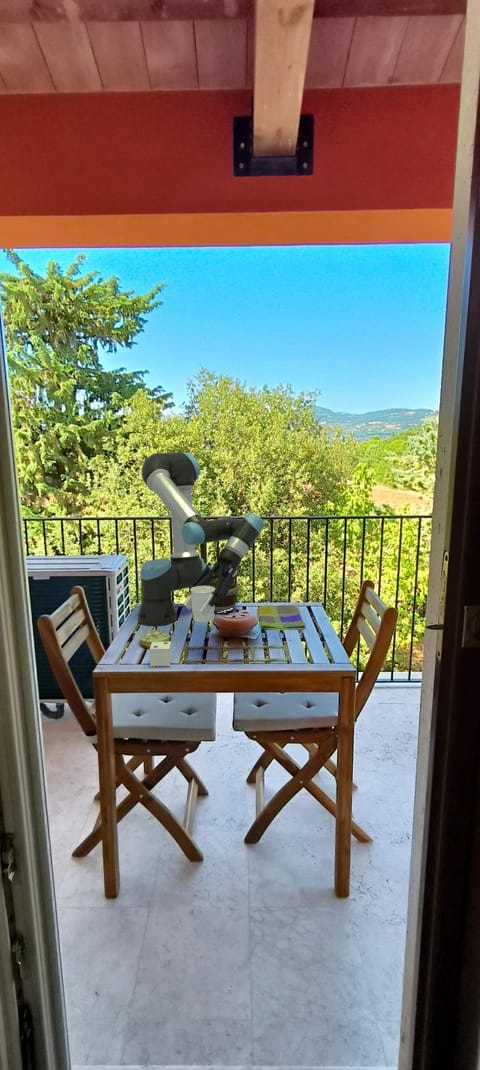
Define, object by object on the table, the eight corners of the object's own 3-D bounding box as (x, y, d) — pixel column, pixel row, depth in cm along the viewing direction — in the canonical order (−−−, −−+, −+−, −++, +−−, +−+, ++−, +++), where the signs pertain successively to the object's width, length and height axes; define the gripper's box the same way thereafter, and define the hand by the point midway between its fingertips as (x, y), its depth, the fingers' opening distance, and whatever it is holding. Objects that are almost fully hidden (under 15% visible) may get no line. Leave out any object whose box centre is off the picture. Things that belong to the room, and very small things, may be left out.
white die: (150, 667, 167) (149, 648, 166) (152, 659, 173) (152, 641, 171) (169, 667, 167) (169, 648, 166) (171, 659, 173) (171, 641, 172)
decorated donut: (166, 636, 193) (165, 626, 192) (173, 647, 183) (173, 636, 183) (137, 640, 189) (136, 630, 189) (142, 651, 180) (142, 640, 179)
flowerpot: (240, 615, 216) (240, 567, 212) (202, 616, 215) (202, 567, 211) (238, 604, 230) (238, 559, 227) (202, 605, 229) (202, 559, 226)
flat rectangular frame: (183, 662, 170) (183, 661, 170) (185, 648, 182) (185, 646, 182) (290, 661, 171) (290, 659, 171) (285, 647, 183) (285, 645, 183)
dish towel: (259, 631, 200) (259, 624, 199) (256, 610, 224) (256, 604, 223) (306, 631, 200) (306, 624, 199) (298, 610, 224) (299, 604, 223)
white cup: (206, 624, 169) (205, 593, 167) (186, 620, 173) (185, 590, 171) (220, 617, 175) (220, 588, 173) (200, 613, 179) (200, 584, 178)
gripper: (259, 565, 173) (222, 624, 166) (219, 555, 189) (182, 609, 181) (247, 551, 169) (208, 611, 161) (207, 542, 184) (169, 597, 176)
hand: (194, 610), depth 171 cm, fingers closed on white cup, 8 cm apart
